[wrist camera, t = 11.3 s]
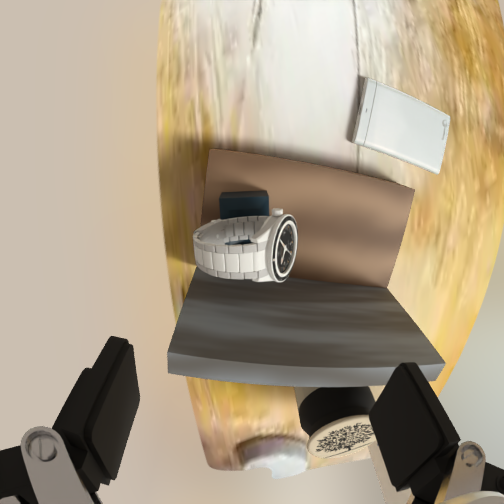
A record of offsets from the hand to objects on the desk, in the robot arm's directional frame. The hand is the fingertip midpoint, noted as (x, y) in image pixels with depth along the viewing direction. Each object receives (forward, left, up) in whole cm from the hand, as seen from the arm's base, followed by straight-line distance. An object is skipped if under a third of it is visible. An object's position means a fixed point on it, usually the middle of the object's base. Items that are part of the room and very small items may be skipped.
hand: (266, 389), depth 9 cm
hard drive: (-13, +16, -26) cm, 34 cm away
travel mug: (+16, +11, -26) cm, 32 cm away
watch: (0, -1, -22) cm, 22 cm away
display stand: (+1, +6, -26) cm, 26 cm away
